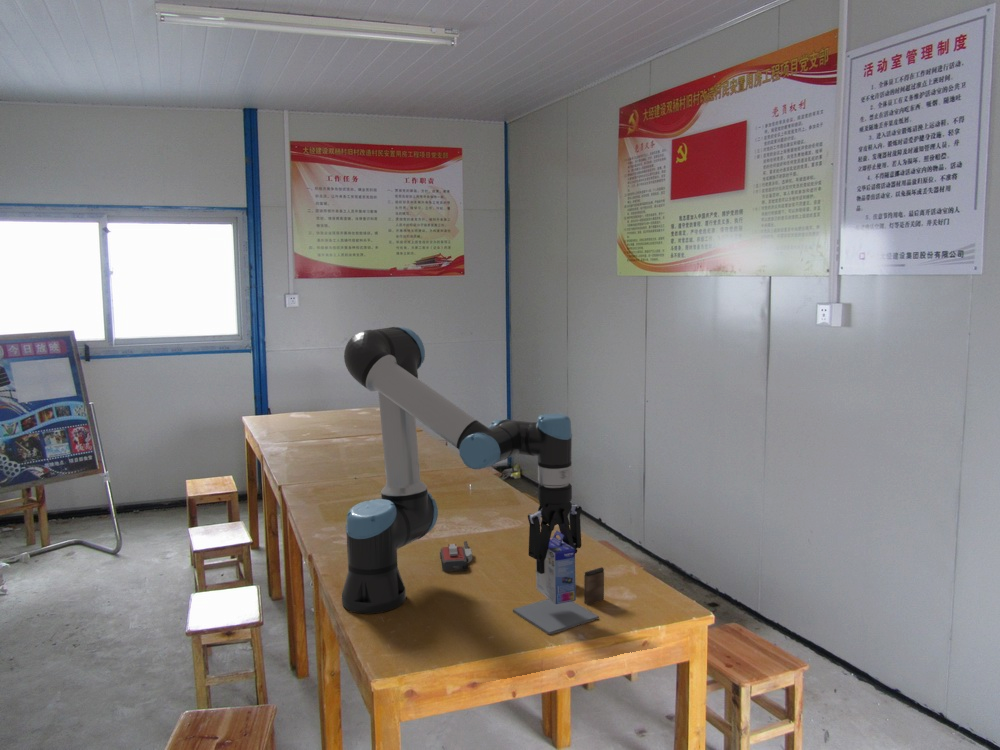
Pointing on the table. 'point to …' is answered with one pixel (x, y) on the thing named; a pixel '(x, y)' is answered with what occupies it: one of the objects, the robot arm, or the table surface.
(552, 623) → the grey mat
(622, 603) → the table surface
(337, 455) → the table surface
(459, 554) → the walkie-talkie
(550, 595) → the ink cartridge box
